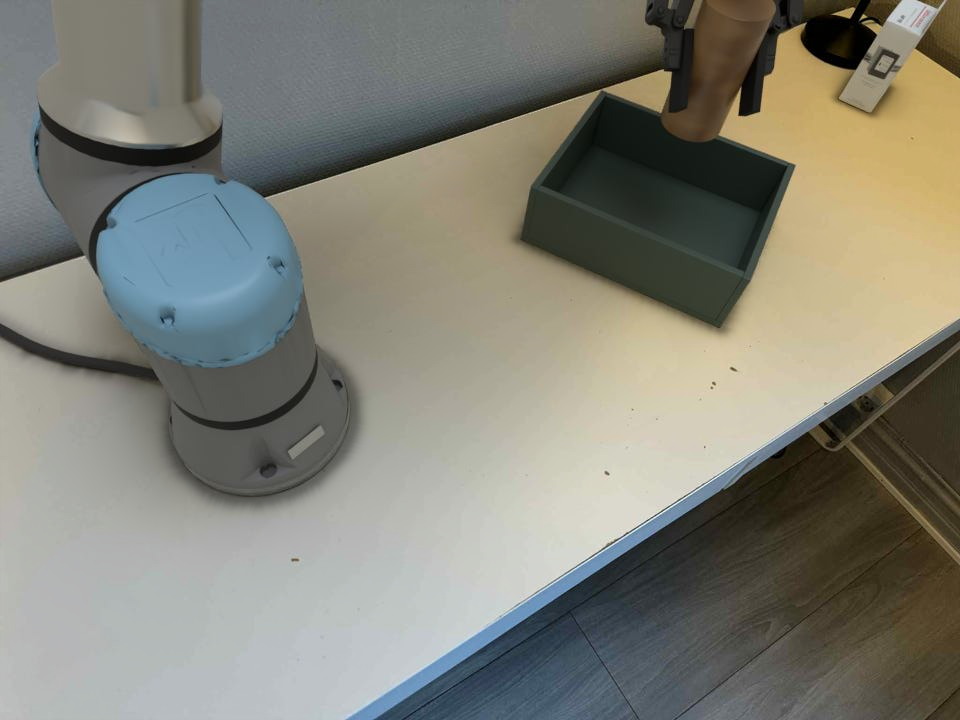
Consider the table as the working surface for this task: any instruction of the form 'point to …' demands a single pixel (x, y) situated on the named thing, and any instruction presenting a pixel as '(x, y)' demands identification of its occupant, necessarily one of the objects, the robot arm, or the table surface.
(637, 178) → the bin
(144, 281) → the robot arm
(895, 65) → the ink box
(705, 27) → the cardboard tube
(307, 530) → the table surface
